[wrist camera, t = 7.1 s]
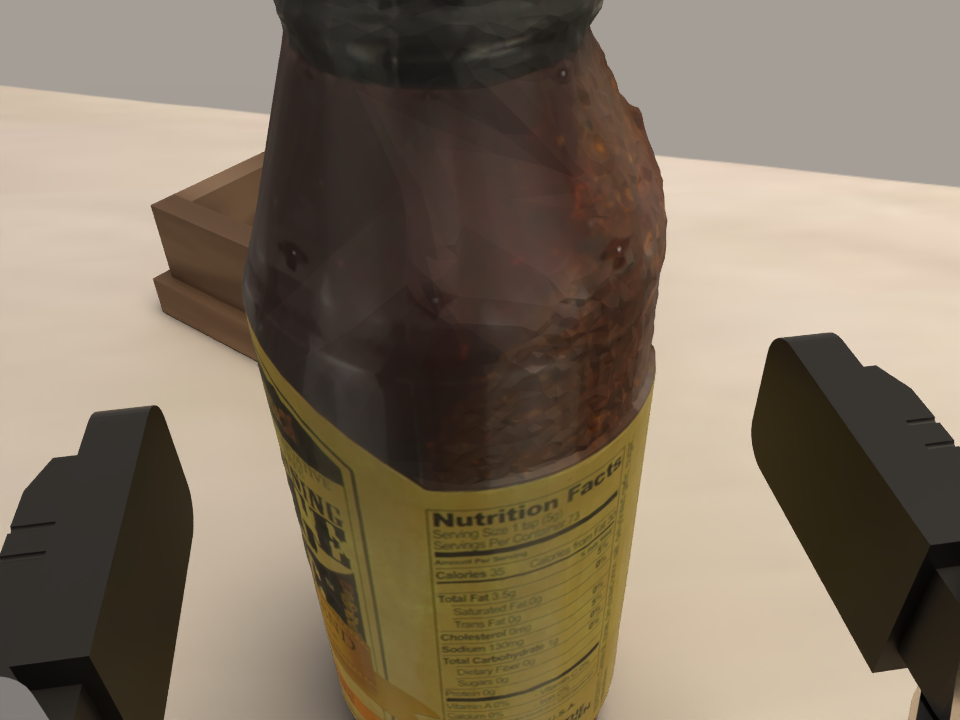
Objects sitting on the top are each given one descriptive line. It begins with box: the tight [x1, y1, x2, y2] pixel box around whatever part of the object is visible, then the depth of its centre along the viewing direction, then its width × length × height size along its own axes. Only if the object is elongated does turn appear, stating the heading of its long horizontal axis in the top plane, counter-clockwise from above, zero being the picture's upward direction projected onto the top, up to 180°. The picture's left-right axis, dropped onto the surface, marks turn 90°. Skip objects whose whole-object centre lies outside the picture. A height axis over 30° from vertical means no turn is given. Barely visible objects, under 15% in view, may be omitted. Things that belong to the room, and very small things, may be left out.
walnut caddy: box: [151, 152, 265, 361], centre depth 33 cm, size 13×13×4 cm
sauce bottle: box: [241, 0, 667, 720], centre depth 14 cm, size 6×6×20 cm
